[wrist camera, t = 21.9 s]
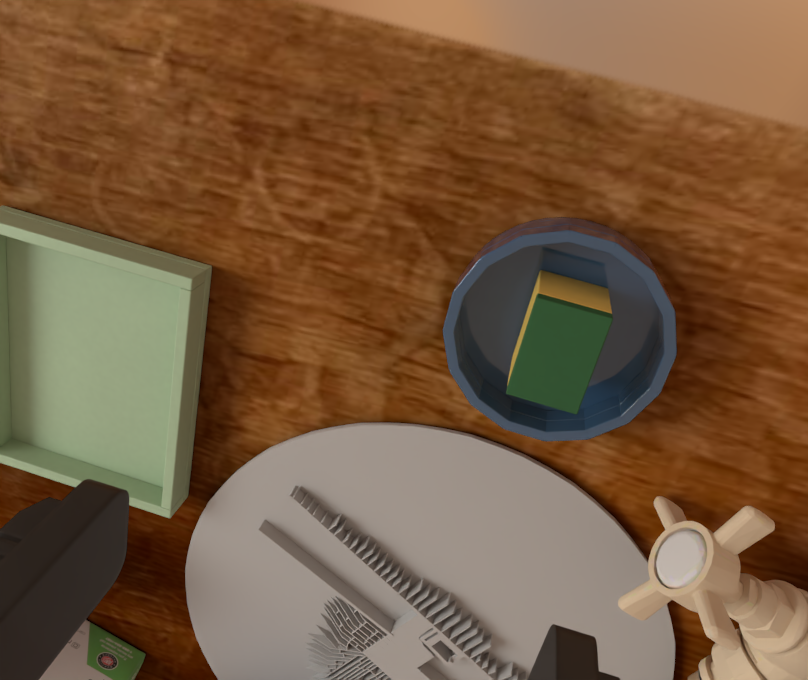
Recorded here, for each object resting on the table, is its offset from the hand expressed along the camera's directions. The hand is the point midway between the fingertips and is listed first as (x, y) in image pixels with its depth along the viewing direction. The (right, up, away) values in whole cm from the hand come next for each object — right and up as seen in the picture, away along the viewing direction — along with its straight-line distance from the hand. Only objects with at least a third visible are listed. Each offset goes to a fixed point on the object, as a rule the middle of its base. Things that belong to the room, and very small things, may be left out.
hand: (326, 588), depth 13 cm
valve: (+20, -5, +18) cm, 28 cm away
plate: (+2, -12, +28) cm, 31 cm away
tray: (-15, +3, +25) cm, 29 cm away
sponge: (+8, +5, +18) cm, 21 cm away
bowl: (+8, +5, +19) cm, 21 cm away
